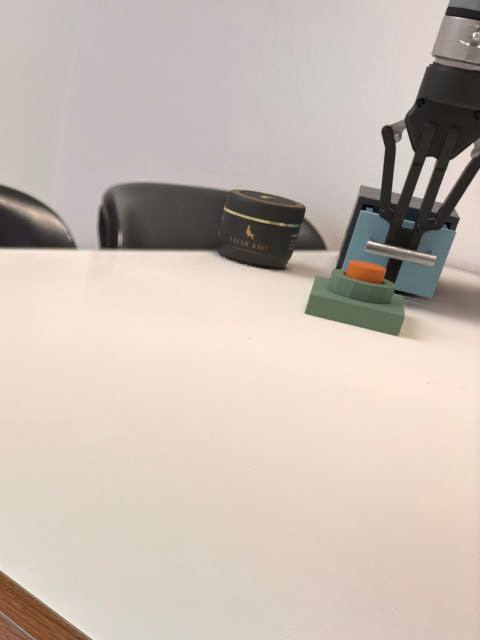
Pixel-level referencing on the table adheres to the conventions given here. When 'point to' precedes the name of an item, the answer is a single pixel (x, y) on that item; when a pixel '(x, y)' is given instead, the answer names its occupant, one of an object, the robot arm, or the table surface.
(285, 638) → the table surface
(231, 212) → the jar
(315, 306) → the panel
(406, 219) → the drawer
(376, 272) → the button
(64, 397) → the table surface
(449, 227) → the drawer cabinet
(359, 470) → the table surface
